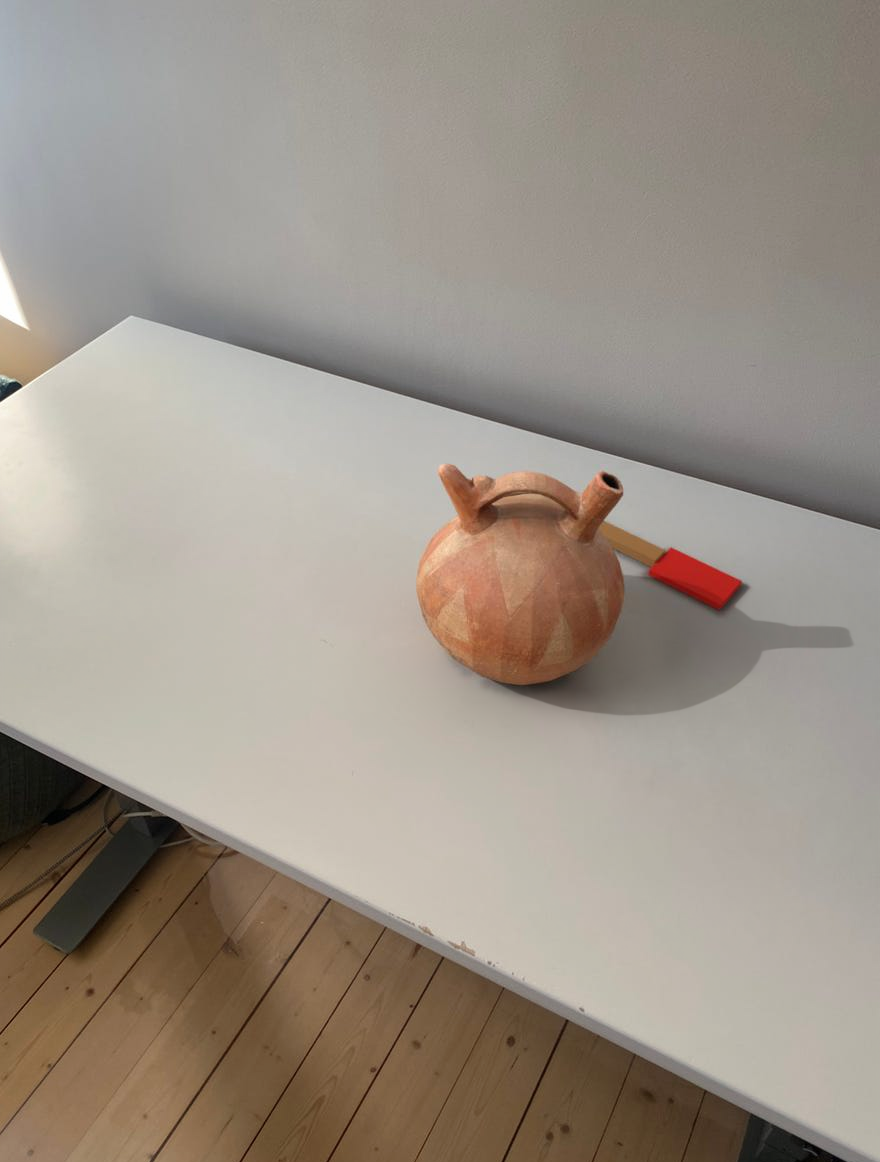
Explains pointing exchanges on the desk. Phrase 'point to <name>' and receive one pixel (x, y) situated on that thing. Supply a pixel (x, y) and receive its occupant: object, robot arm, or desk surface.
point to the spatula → (675, 568)
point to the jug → (522, 575)
